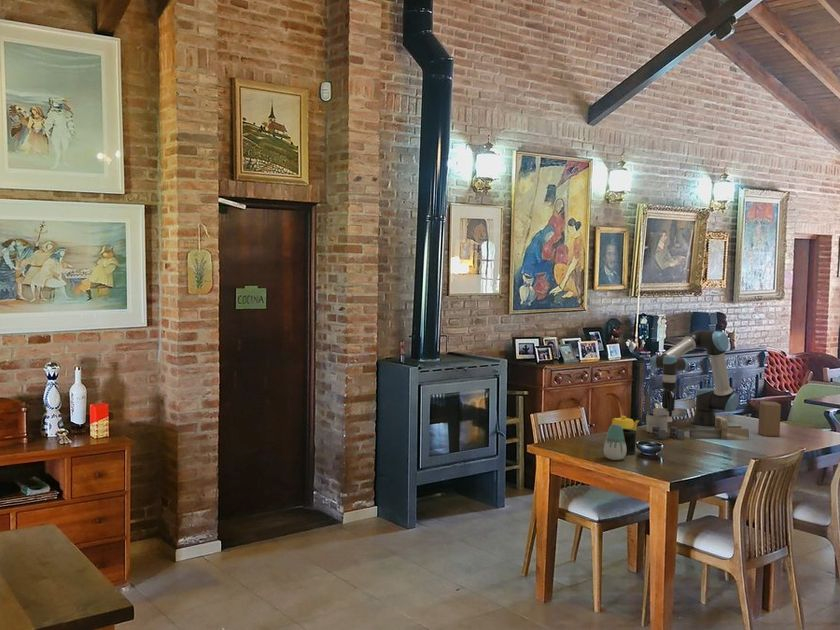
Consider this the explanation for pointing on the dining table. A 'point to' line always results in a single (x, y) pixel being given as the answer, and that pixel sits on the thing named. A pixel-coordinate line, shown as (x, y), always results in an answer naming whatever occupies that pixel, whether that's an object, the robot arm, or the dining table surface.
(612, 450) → the vase
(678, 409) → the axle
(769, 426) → the wooden block
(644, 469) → the dining table surface
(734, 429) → the beam
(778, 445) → the dining table surface
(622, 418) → the teapot
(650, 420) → the planter
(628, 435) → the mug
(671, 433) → the v block
